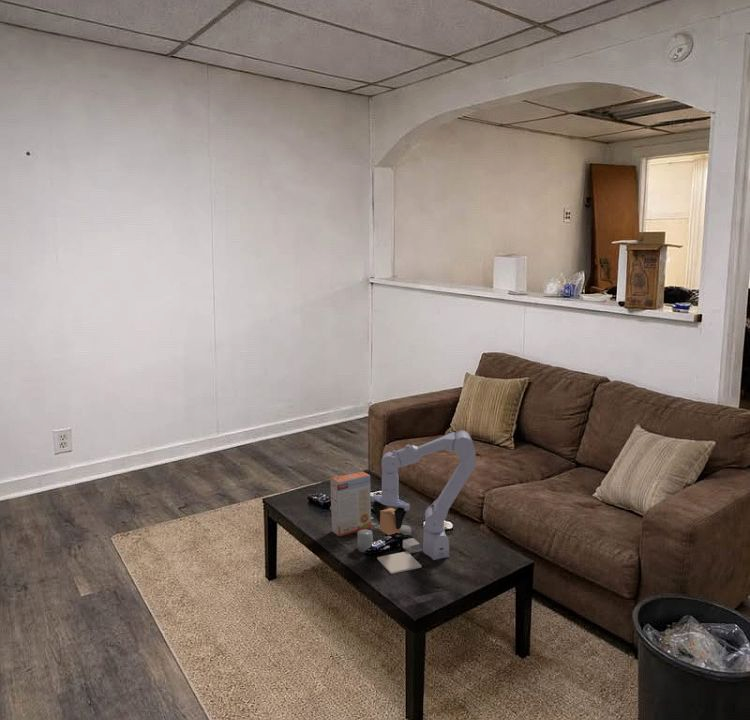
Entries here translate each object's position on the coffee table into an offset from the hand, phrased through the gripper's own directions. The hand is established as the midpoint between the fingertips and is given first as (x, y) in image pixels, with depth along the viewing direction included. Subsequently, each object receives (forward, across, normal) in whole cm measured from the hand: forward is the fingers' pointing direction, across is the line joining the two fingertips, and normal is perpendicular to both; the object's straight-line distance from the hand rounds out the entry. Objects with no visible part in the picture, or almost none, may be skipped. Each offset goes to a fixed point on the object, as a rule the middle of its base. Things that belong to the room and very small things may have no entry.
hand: (390, 525), depth 215 cm
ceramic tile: (+9, -8, +6) cm, 13 cm away
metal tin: (+9, -6, -4) cm, 12 cm away
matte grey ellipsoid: (+9, +3, -13) cm, 16 cm away
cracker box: (+9, +21, -5) cm, 23 cm away
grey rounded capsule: (+9, +8, +4) cm, 12 cm away
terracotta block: (+2, 0, 0) cm, 2 cm away
